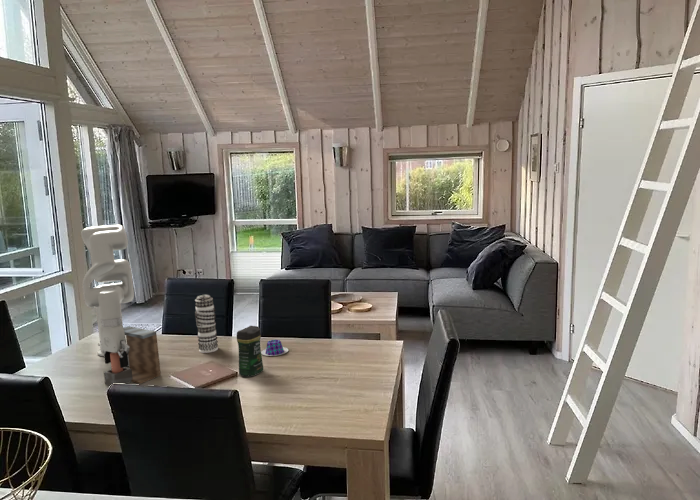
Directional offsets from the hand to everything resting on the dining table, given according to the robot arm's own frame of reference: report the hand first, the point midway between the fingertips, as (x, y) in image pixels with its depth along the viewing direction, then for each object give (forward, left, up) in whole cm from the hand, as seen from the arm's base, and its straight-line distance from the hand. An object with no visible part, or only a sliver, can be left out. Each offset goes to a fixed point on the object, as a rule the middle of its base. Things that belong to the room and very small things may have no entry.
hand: (116, 364), depth 213 cm
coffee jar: (+41, +31, -7) cm, 52 cm away
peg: (0, 0, -7) cm, 7 cm away
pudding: (+32, +54, -8) cm, 64 cm away
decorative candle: (+2, +44, -7) cm, 45 cm away
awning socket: (0, +5, -7) cm, 9 cm away
